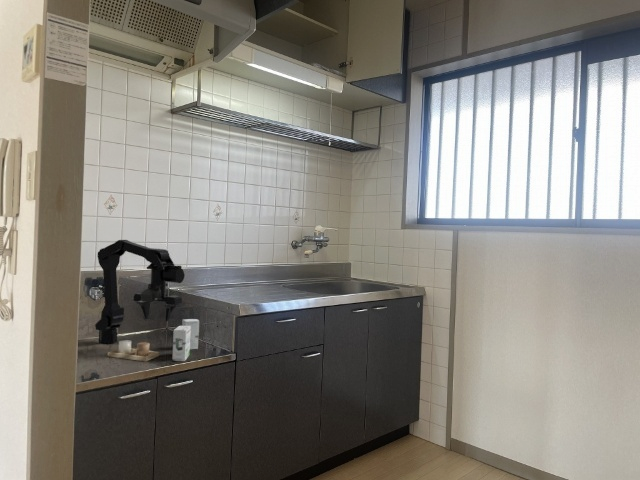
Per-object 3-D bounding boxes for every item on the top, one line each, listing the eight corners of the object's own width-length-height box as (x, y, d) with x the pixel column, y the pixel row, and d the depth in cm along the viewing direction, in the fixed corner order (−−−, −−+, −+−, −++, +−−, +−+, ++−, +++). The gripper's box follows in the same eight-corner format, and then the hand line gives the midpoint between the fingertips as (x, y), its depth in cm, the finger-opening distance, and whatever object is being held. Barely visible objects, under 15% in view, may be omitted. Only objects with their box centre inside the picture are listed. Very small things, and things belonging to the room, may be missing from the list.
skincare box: (183, 351, 198) (185, 321, 197) (180, 348, 201) (181, 319, 201) (198, 349, 201) (199, 320, 201) (194, 347, 205) (196, 318, 205)
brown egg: (133, 357, 183) (134, 344, 183) (141, 354, 187) (142, 341, 187) (143, 359, 181) (144, 345, 181) (151, 356, 186) (152, 343, 185)
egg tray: (107, 357, 183) (107, 352, 183) (122, 352, 191) (122, 347, 191) (145, 363, 179) (145, 357, 179) (159, 357, 187) (159, 352, 187)
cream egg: (115, 355, 185) (116, 342, 185) (123, 352, 189) (124, 339, 189) (125, 356, 183) (126, 343, 183) (133, 354, 188) (133, 341, 188)
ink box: (177, 354, 192) (178, 324, 192) (190, 355, 192) (191, 325, 192) (171, 360, 183) (173, 329, 183) (185, 361, 184) (186, 330, 183)
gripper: (124, 281, 189) (123, 321, 190) (167, 284, 184) (165, 326, 185) (142, 278, 200) (141, 316, 200) (183, 282, 195) (181, 321, 195)
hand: (156, 320), depth 195 cm, fingers open, 9 cm apart
